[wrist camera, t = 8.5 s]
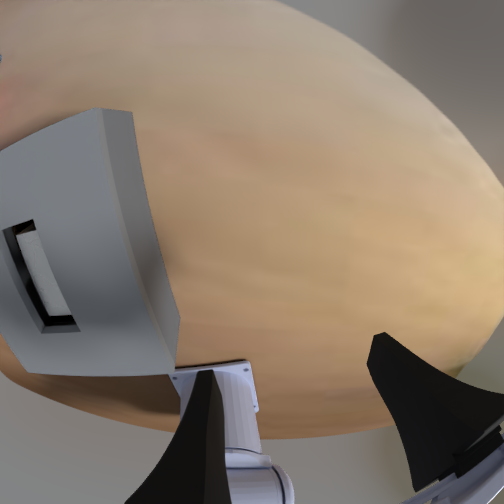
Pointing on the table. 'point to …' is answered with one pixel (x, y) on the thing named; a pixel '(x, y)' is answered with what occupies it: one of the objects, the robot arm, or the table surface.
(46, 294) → the block
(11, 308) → the ballot box
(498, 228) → the table surface
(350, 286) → the table surface
